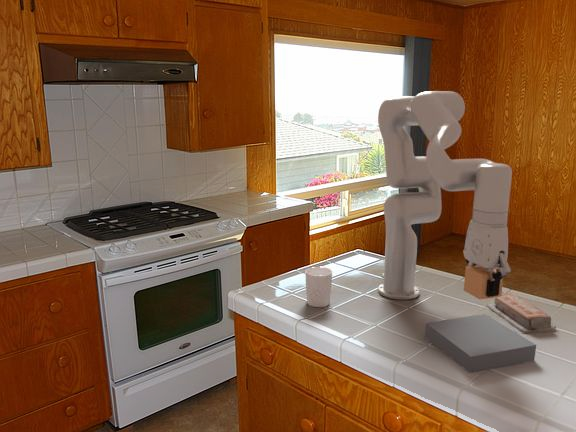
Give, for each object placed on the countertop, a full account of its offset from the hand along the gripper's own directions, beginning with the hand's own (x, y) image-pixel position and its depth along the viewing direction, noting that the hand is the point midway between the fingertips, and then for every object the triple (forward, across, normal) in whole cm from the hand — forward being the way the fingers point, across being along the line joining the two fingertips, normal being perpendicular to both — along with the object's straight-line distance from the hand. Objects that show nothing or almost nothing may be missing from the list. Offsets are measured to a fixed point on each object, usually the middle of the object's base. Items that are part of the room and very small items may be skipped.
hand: (482, 289), depth 122 cm
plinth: (+15, 0, 0) cm, 15 cm away
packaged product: (+16, -11, +23) cm, 30 cm away
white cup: (+15, -38, -27) cm, 49 cm away
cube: (+1, 0, 0) cm, 1 cm away
